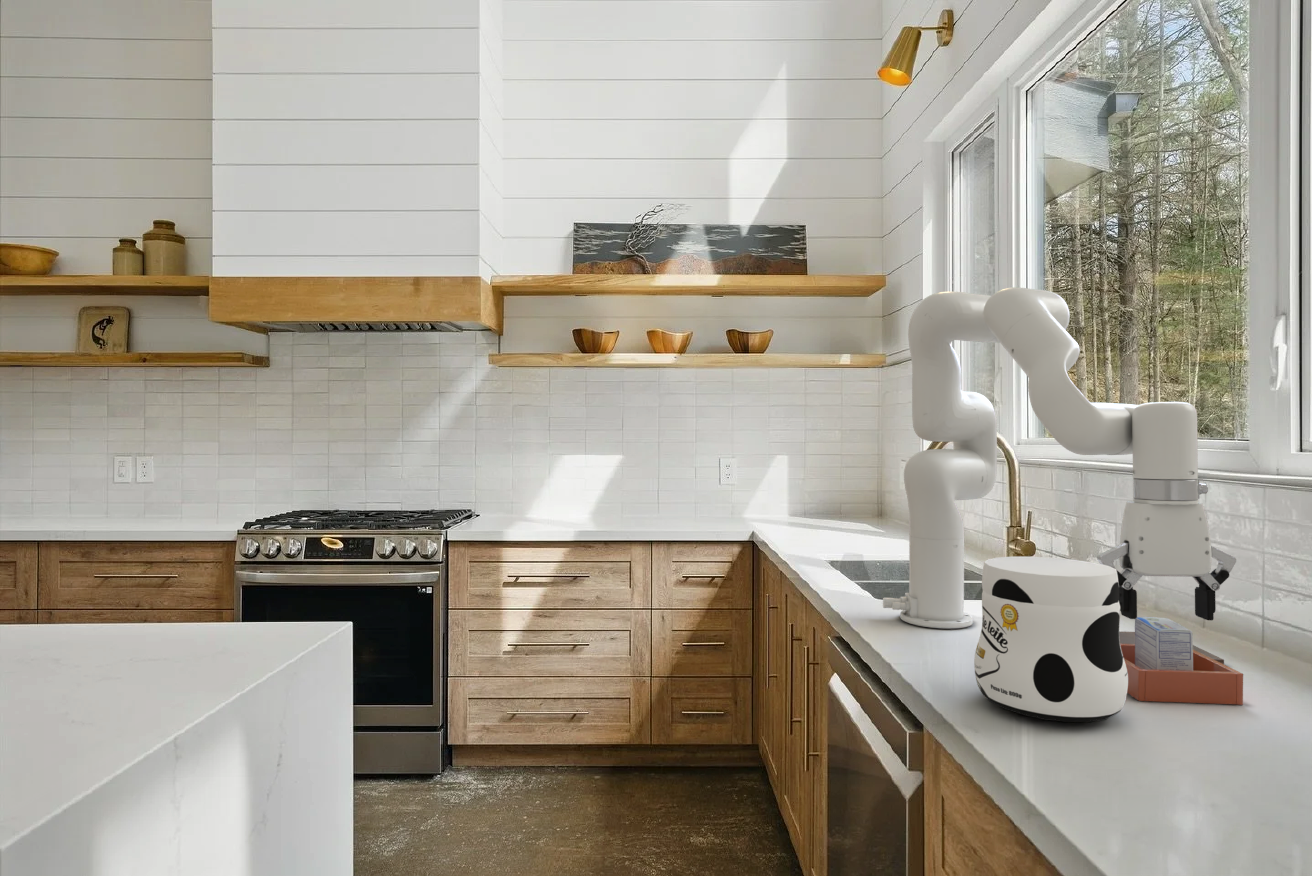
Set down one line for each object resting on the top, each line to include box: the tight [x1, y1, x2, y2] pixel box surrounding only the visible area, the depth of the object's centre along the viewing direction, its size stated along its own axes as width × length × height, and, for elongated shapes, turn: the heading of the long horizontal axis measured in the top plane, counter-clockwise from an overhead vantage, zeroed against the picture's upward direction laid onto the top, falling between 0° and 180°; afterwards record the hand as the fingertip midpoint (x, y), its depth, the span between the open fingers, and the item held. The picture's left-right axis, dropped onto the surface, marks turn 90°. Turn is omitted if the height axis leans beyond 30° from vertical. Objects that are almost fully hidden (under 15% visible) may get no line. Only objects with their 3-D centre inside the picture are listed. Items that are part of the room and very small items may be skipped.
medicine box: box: [1134, 616, 1194, 671], centre depth 109 cm, size 8×4×9 cm, turn 168°
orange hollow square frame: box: [1120, 644, 1244, 706], centre depth 109 cm, size 13×14×4 cm
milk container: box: [973, 555, 1128, 723], centre depth 100 cm, size 17×17×18 cm
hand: (1166, 617), depth 108 cm, fingers open, 9 cm apart
